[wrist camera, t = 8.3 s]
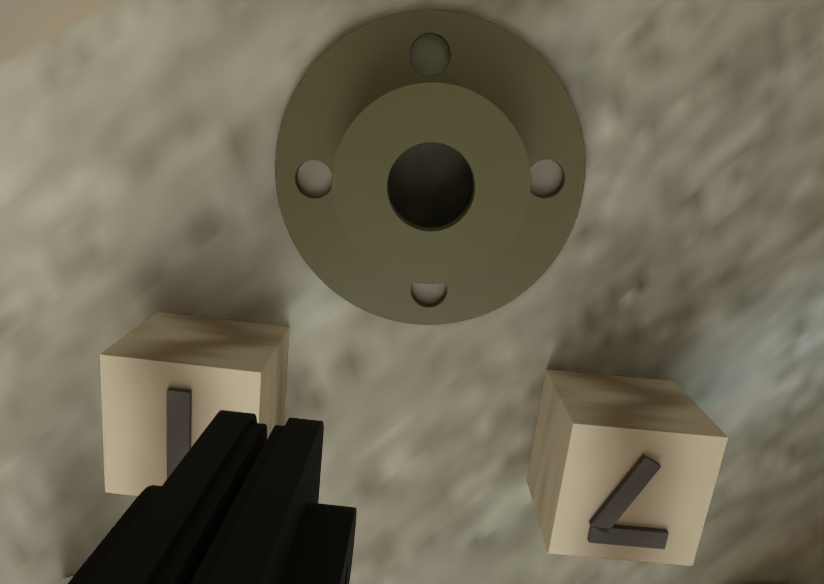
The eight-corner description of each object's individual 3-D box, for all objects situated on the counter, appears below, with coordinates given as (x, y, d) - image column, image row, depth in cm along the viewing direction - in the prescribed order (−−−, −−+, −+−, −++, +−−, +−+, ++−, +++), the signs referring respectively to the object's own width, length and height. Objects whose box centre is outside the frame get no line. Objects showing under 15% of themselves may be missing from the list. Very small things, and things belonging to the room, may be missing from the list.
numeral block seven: (672, 380, 32) (731, 441, 26) (646, 490, 34) (695, 570, 28) (545, 368, 32) (574, 426, 26) (526, 479, 34) (549, 558, 28)
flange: (239, -7, 23) (267, 351, 27) (626, -9, 23) (593, 352, 27) (269, 14, 27) (289, 318, 32) (592, 12, 27) (568, 319, 31)
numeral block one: (290, 326, 31) (259, 375, 25) (283, 441, 33) (252, 512, 27) (159, 311, 31) (96, 357, 25) (159, 427, 33) (101, 496, 27)
